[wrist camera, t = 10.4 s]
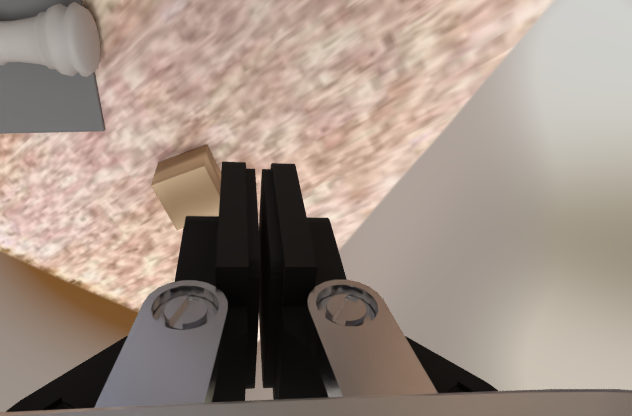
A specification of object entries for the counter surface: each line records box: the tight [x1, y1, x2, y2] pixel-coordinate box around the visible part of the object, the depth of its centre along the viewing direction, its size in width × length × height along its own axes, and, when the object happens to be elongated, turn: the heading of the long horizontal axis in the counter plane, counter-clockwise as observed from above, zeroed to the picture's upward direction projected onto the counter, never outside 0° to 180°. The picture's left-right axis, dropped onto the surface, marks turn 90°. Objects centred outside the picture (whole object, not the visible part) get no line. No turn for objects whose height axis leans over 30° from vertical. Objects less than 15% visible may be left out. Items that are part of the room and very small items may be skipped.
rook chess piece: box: [0, 2, 101, 77], centre depth 32 cm, size 4×4×8 cm
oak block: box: [151, 145, 221, 230], centre depth 39 cm, size 4×4×4 cm
